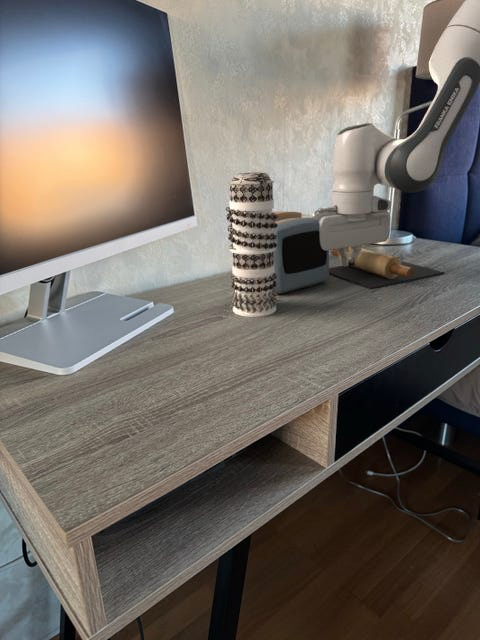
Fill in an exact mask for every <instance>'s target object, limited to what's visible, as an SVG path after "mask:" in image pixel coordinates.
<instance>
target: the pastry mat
mask: <svg viewBox="0 0 480 640" xmlns="http://www.w3.org/2000/svg"><path fill="white" fill-rule="evenodd" d="M401 262H402V265H403V266H406V267H410V268H413V269H414V275H413V277H411V278H407V277H404V276H400V275H398V276H397V277H396V278H394V279H388V278H385V277H382V276H379V275H375V274H372V273H369V272H366V271H363V270H360V269H357V268H353V267H350V266H347V267H345V266H342V265H339V266H334V267H329V276H333V277H336V278H339V279H342V280H344V281H347V282H350V283H353V284H356V285H358V286H361V287H364V288H366V289H369V290H374V289H377V288H382V287H387V286H393V285H397V284H401V283H407V282H412V281H416V280H422V279H426V278H431V277H436V276H441V275H445V271H441V270H439V269H438V270H437V269H433V268H430V267H426V266H422V265H418V264H415V263H411V262H406V261H403V260H401Z"/></svg>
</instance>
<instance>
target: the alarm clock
mask: <svg viewBox="0 0 480 640" xmlns="http://www.w3.org/2000/svg"><path fill="white" fill-rule="evenodd" d="M272 213H275V214H276V215H277V216H278V217H277V219H275V220H272V223H274V222H275V223H276V224H277V225H278V226H277V227H276V228H275V229H274V228H272V234H273V233H274V234H275V235H277V238H276V239H274V240H272V243H273V242H274V243H276V244H277V247H276V250H274V251H273V263H274V273H276V279H274V281H276V287H274V289H275V290H276V291H277V293H276V294H277V295H278V294H286V293H289V292H294V291H296V290H297V291H298V290H300V289H304V288H309V287H312V286H314V285H318V284H319V285H320V284H322V283H325V282H326V281H327V280H328V279H329V276H330V274H329V268H330V250H329V251H326V250H323V249H322V247H321V244H320V232H319V221H318V220H314V219H312V218H302V214H303V213H302V212H300V211H272Z"/></svg>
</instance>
